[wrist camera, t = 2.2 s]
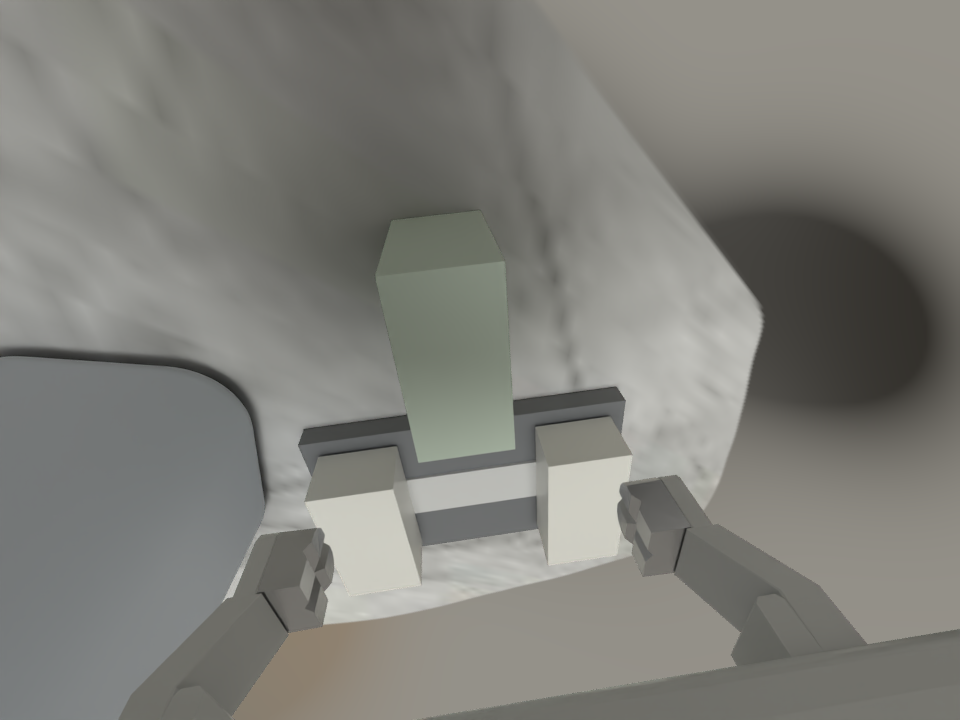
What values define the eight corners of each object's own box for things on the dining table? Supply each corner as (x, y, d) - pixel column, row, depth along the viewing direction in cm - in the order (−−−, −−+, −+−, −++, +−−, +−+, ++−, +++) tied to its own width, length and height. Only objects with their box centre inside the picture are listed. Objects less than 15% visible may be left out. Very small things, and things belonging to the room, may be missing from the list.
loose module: (391, 219, 21) (374, 276, 14) (480, 209, 21) (505, 261, 14) (421, 371, 26) (419, 466, 19) (492, 361, 26) (515, 453, 19)
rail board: (304, 429, 27) (280, 492, 23) (616, 386, 28) (651, 439, 24) (350, 540, 34) (338, 606, 29) (603, 502, 34) (629, 561, 30)
